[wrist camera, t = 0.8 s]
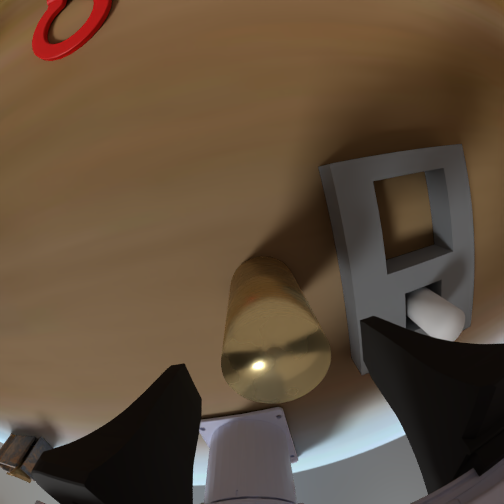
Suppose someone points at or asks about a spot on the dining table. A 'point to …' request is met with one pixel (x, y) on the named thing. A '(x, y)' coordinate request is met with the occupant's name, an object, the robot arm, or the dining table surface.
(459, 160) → the grey holder block
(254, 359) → the cylinder
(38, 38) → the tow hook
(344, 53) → the dining table surface
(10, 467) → the ruin model on sheet
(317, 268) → the dining table surface
